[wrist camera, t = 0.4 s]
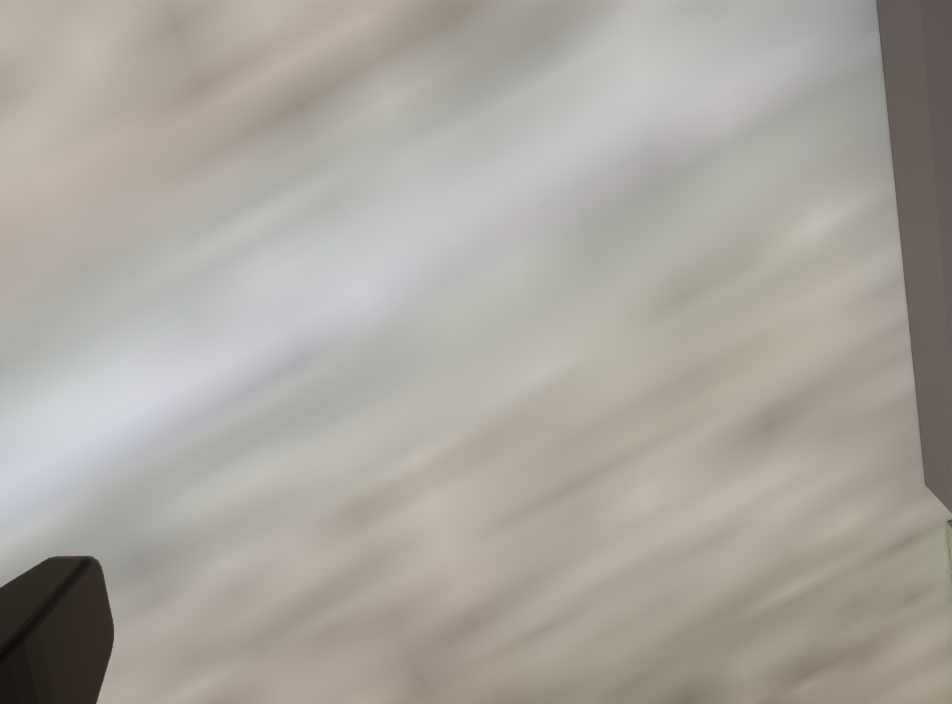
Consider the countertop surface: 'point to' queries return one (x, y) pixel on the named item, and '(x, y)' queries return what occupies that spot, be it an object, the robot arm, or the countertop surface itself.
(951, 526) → the rubber mat
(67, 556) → the robot arm
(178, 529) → the countertop surface
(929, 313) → the grey flat square slab
